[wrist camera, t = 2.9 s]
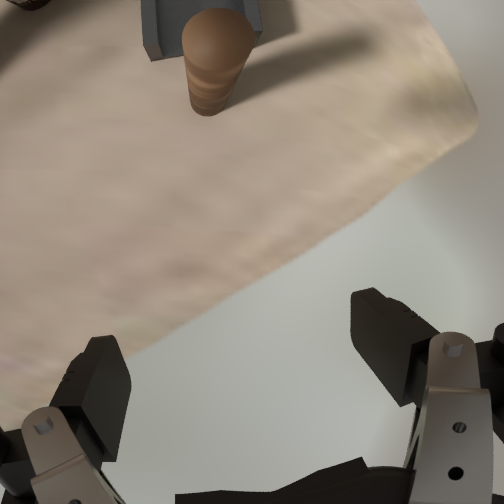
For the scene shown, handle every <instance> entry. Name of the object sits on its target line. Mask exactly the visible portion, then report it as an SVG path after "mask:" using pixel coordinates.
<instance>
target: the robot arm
mask: <svg viewBox="0 0 504 504" xmlns="http://www.w3.org/2000/svg"><path fill="white" fill-rule="evenodd" d="M350 332H351V339H352V342H353V345H354V347H355V349H356V350H357V351H358V353H359V354H360V355H361V357H362V358H363V359H364V361H365V362H366V363H367V364H368V366H369V367H370V368H371V369H372V371H373V372H374V373H375V375H376V376H377V377H378V379H379V380H380V381H381V383H382V384H383V385H384V386H385V388H386V389H387V390H388V392H389V393H390V394H391V396H392V397H393V398H394V400H395V401H396V402H397V404H398V405H399V406H400V407H402V406H405V405H407V404H410V403H412V402H414V403H415V405H416V409H415V413H414V418H413V424H412V429H411V435H410V439H409V444H408V449H407V454H406V458H405V461H404V465H403V468H401V467H392V466H378V467H367V466H366V464H365V462H364V460H363V458H362V457H359V458H356V459H354V460H351V461H348V462H345V463H341V464H338V465H336V466H332V467H329V468H325V469H322V470H318V471H316V472H314V473H312V474H310V475H308V476H306V477H305V478H302V479H300V480H298V481H296V482H294V483H292V484H290V485H287V486H285V487H283V488H281V489H279V490H276V491H272V492H243V491H225V490H219V491H210V492H200V493H188V494H175V504H504V496H501V495H497V494H493V493H492V487H493V431H494V432H495V433H496V435H497V436H498V437H499V438H500V439H501V441H502V442H503V443H504V323H502V324H500V325H498V326H497V327H496V328H495V332H494V336H493V340H490V341H485V342H479V343H474V341H473V340H472V339H470V337H468V336H466V335H464V334H462V333H458V332H443V333H440V332H438V331H437V330H436V329H435V328H434V327H433V326H431V325H430V324H429V323H428V322H426V321H425V320H424V319H423V318H421V317H420V316H418V315H417V314H416V313H415V312H414V311H411V309H410V308H409V307H407V306H406V305H405V304H404V303H402V302H400V301H397V300H395V299H392V298H386V297H385V296H384V295H382V294H381V293H380V292H379V291H378V290H377V289H375V288H373V287H372V288H368V289H364V290H359V291H356V292H353V293H352V294H351V329H350ZM130 392H131V378H130V374H129V371H128V369H127V366H126V364H125V361H124V359H123V356H122V353H121V351H120V348H119V346H118V343H117V340H116V338H115V337H114V336H113V335H108V336H99V337H92V338H91V339H90V341H89V343H88V345H87V347H86V349H85V351H84V353H80V354H79V355H78V356H77V357H76V358H75V359H74V360H72V361H71V363H70V365H69V367H68V369H67V370H66V374H64V376H63V378H62V382H60V384H59V386H58V388H57V390H56V392H55V394H54V396H53V398H52V400H51V402H50V404H49V407H42V408H39V409H37V410H35V411H33V412H32V413H30V414H29V415H28V416H27V417H26V418H25V420H24V421H23V423H22V427H21V429H16V430H12V431H6V432H4V431H3V429H2V428H1V427H0V483H1V484H2V486H3V487H4V488H5V492H4V496H3V498H2V502H1V504H126V503H125V501H124V500H123V499H122V498H121V496H120V495H119V494H118V492H117V491H116V490H115V488H114V487H113V485H112V484H111V483H110V481H109V480H108V478H107V477H106V476H105V474H104V473H103V471H102V470H101V466H102V462H116V459H117V454H118V449H119V443H120V439H121V434H122V429H123V424H124V419H125V415H126V410H127V406H128V401H129V397H130Z"/></svg>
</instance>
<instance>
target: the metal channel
mask: <svg viewBox="0 0 504 504" xmlns="http://www.w3.org/2000/svg"><path fill="white" fill-rule="evenodd" d="M210 8H227V9H231V10H234V11H237V12H239V13H240V14H242V15H243V16H245V17H246V18H247V19H248V21H249V22H250V23H251V25H252V27H253V29H254V33H255V43H254V46H255V44H256V42H257V40H258V39H259V37H260V35H261V33H262V31H263V30H262V24H261V18H260V12H259V6H258V0H141V17H142V34H143V46H144V48H145V50H146V52H147V54H148V56H149V58H150V60H151V62H152V61H157V60H162V59H168V58H174V57H180V56H184V52H183V45H182V33H183V30H184V27H185V25H186V24H187V22H188V21H189V20H190V19H191V18H192V17H193V16H194V15H196V14H197V13H199V12H201V11H204V10H206V9H210ZM254 46H253V48H254Z"/></svg>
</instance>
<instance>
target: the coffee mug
mask: <svg viewBox="0 0 504 504" xmlns="http://www.w3.org/2000/svg"><path fill="white" fill-rule="evenodd" d="M7 1H9V2H11V3H13V4H15V5H17V6H19V7H21V8H23V9H25V10H28V11H32V10H36V9H39V8H41V7H43V6H44V5H46V4H47V3H48V2H49V1H51V0H7Z"/></svg>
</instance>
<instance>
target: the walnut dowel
mask: <svg viewBox="0 0 504 504" xmlns="http://www.w3.org/2000/svg"><path fill="white" fill-rule="evenodd" d="M254 43H255V33H254V29H253V27H252V25H251V23H250V22H249V21H248V19H247V18H246V17H245V16H243V15H242V14H240V13H239V12H237V11H234V10H231V9H227V8H210V9H206V10H204V11H201V12H199V13H197V14H196V15H194V16H193V17H192V18H191V19H190V20H189V21H188V22H187V24H186V25H185V27H184V30H183V33H182V45H183V52H184V60H185V67H186V74H187V81H188V88H189V95H190V102H191V106H192V108H193V109H194V111H195V112H196V113H198V114H200V115H202V116H213V115H216V114H218V113H219V112H220V111H221V110H222V109H223V107H224V105H225V103H226V101H227V99H228V97H229V95H230V93H231V91H232V89H233V87H234V85H235V82H236V80H237V78H238V76H239V74H240V72H241V70H242V68H243V66H244V64H245V62H246V60H247V58H248V57H249V55H250V53H251V51H252V49H253V46H254Z"/></svg>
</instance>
